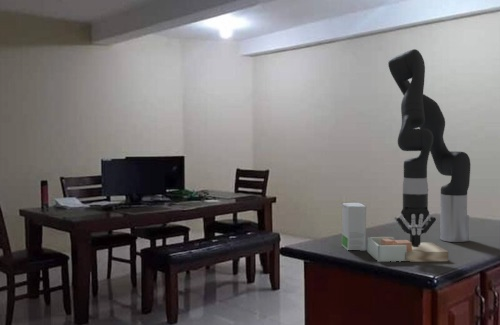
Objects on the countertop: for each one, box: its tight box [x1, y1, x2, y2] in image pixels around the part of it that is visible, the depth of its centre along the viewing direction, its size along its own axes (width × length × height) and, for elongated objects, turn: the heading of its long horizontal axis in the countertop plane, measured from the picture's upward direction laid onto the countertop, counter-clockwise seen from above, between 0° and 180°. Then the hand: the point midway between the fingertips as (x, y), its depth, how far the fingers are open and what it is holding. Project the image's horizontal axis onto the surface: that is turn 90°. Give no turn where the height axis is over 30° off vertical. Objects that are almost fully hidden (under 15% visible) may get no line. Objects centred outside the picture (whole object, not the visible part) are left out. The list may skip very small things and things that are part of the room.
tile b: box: [393, 239, 412, 251], centre depth 156 cm, size 4×4×2 cm
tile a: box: [381, 239, 393, 246], centre depth 161 cm, size 4×4×2 cm
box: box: [366, 236, 407, 263], centre depth 159 cm, size 9×14×5 cm, turn 0°
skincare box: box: [341, 202, 367, 251], centre depth 171 cm, size 8×7×16 cm
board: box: [407, 241, 449, 263], centre depth 159 cm, size 13×14×3 cm
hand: (415, 246), depth 155 cm, fingers closed
